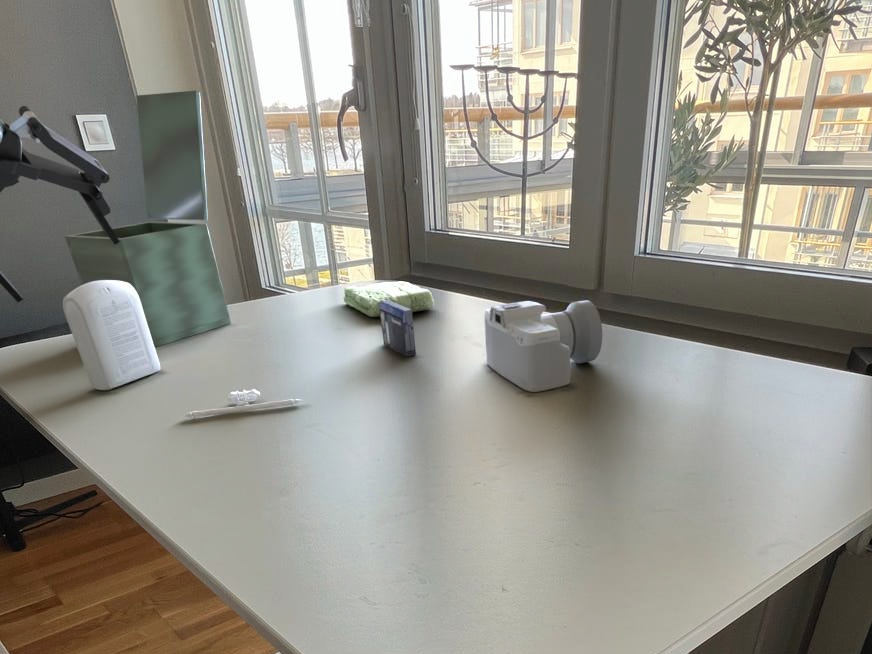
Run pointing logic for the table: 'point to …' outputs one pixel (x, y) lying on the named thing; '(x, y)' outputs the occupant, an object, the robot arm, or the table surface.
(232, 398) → the picture light
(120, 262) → the green open box
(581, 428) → the table surface
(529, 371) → the digital camera
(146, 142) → the lid
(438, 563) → the table surface
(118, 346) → the white rounded flat block
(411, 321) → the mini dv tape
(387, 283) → the washcloth
